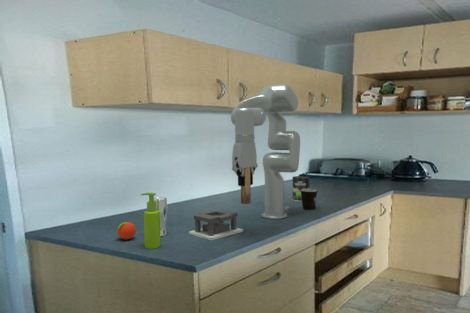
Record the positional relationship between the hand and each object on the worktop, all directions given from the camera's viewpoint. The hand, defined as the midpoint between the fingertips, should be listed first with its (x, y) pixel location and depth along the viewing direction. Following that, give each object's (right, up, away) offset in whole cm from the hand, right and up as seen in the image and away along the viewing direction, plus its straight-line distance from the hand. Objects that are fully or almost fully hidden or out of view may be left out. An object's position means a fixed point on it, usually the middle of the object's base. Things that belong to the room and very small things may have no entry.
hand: (245, 184), depth 154 cm
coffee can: (+36, -15, +78) cm, 87 cm away
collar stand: (-12, -21, +7) cm, 25 cm away
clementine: (-47, -22, -1) cm, 52 cm away
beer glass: (-35, -21, +5) cm, 42 cm away
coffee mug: (+34, -17, +53) cm, 65 cm away
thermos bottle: (0, -7, +1) cm, 7 cm away
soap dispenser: (-35, -22, -10) cm, 43 cm away
